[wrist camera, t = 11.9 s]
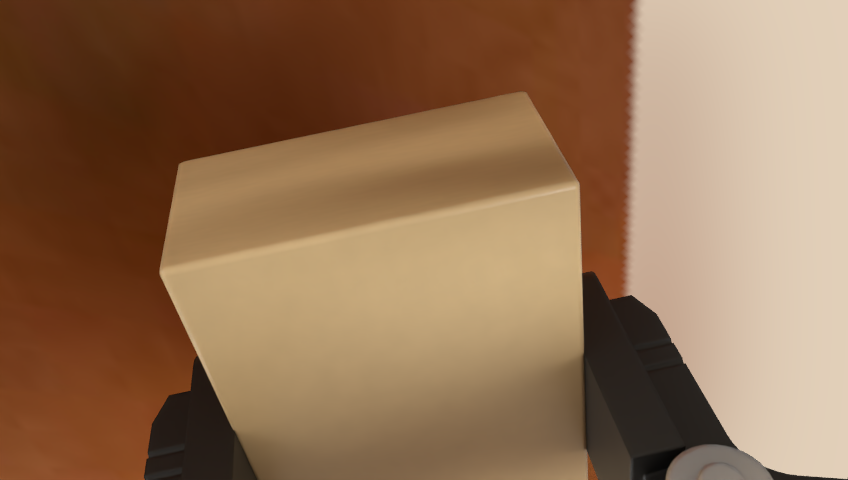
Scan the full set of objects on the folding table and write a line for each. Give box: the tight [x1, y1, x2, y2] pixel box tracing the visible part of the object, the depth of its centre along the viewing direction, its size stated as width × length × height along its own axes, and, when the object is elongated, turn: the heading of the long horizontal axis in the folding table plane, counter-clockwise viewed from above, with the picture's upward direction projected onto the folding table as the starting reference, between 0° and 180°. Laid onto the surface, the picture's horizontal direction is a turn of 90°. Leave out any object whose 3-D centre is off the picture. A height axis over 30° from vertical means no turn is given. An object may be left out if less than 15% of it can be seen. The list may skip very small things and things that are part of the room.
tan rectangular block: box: [159, 91, 588, 480], centre depth 12 cm, size 8×5×2 cm, turn 9°
